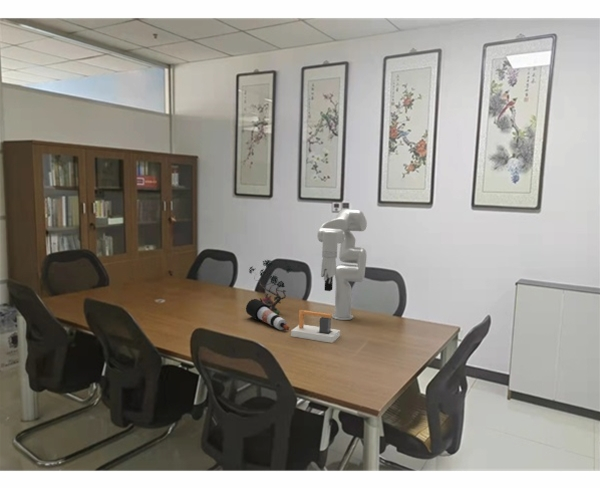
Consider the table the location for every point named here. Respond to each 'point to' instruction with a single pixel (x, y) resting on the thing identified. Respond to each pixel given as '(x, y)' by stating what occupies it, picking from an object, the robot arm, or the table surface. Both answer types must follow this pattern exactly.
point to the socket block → (315, 333)
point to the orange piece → (303, 312)
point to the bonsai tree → (268, 299)
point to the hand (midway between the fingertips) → (328, 290)
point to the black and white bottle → (265, 314)
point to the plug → (325, 325)
